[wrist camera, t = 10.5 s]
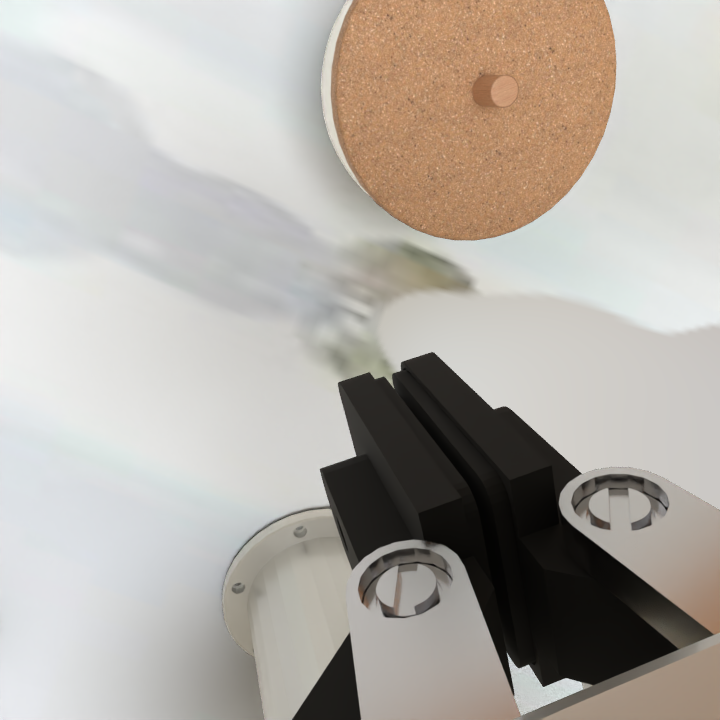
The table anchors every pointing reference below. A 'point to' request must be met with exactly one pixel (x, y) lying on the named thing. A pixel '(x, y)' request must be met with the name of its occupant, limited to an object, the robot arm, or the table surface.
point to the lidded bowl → (468, 106)
